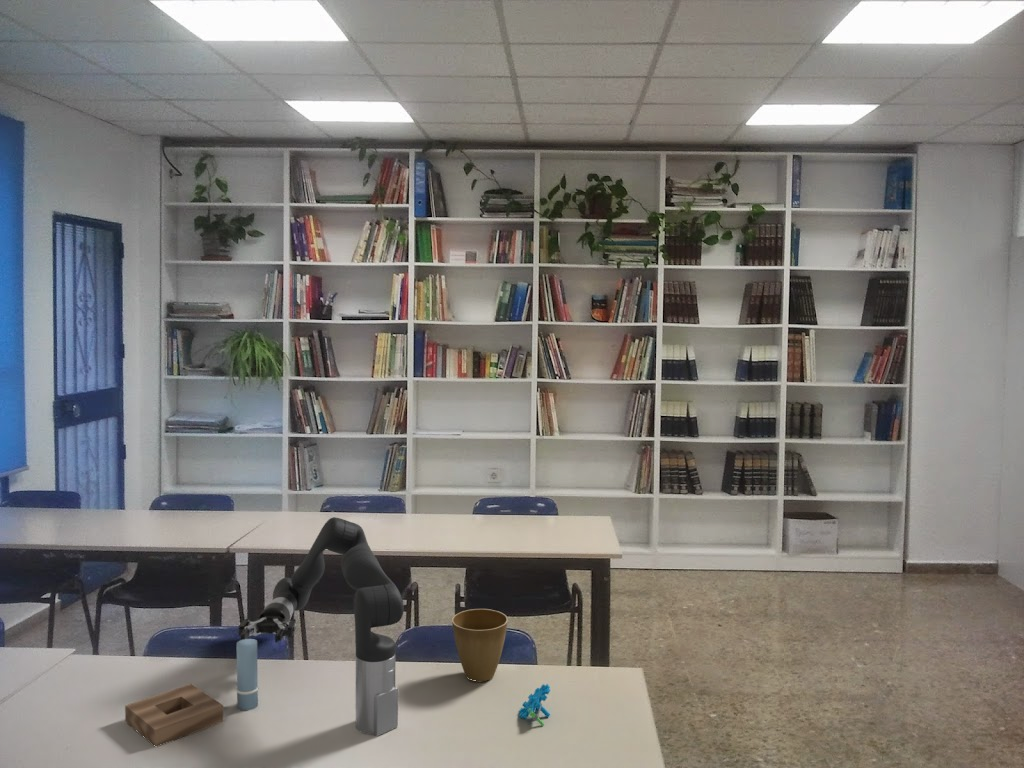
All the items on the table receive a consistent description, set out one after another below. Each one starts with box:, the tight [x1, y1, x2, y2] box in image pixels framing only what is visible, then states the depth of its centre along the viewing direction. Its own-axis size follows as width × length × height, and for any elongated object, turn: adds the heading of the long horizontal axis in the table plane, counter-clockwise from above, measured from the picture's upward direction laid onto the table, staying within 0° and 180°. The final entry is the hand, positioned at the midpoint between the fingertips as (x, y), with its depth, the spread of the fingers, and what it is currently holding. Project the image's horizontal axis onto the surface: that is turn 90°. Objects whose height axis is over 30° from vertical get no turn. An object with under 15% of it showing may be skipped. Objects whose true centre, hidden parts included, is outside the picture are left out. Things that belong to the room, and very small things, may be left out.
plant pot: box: [451, 608, 508, 682], centre depth 217 cm, size 15×15×16 cm
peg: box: [236, 638, 259, 711], centre depth 199 cm, size 5×5×16 cm
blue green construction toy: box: [518, 683, 551, 727], centre depth 196 cm, size 11×6×10 cm
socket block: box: [124, 683, 224, 747], centre depth 191 cm, size 16×16×4 cm
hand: (260, 638), depth 210 cm, fingers open, 8 cm apart
